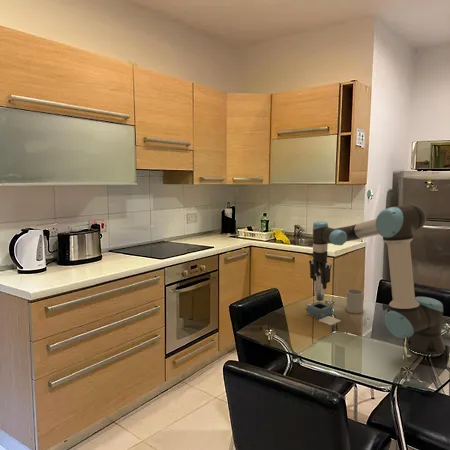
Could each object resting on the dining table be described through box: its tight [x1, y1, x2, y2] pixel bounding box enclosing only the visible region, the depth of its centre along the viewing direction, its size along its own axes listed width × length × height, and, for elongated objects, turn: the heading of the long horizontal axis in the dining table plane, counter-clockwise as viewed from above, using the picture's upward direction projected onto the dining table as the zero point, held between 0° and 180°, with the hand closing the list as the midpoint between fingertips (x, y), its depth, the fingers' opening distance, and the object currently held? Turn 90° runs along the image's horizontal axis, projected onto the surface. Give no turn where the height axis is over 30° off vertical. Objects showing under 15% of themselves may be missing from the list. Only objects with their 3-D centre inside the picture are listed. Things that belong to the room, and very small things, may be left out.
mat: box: [318, 315, 342, 326], centre depth 211 cm, size 8×8×1 cm
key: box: [315, 270, 325, 302], centre depth 217 cm, size 4×6×15 cm, turn 127°
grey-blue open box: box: [304, 301, 334, 320], centre depth 222 cm, size 14×10×4 cm, turn 37°
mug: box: [345, 288, 364, 315], centre depth 223 cm, size 12×8×11 cm
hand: (319, 292), depth 218 cm, fingers closed on key, 4 cm apart
